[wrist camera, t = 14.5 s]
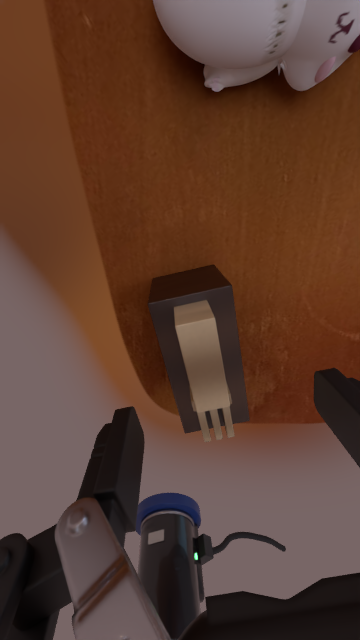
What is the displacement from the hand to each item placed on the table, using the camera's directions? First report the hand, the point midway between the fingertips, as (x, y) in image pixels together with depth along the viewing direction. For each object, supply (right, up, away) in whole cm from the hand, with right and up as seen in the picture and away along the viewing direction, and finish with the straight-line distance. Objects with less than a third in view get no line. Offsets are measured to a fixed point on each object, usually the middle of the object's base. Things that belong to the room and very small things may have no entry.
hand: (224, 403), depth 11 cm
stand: (0, +3, +15) cm, 15 cm away
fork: (0, 0, +9) cm, 9 cm away
